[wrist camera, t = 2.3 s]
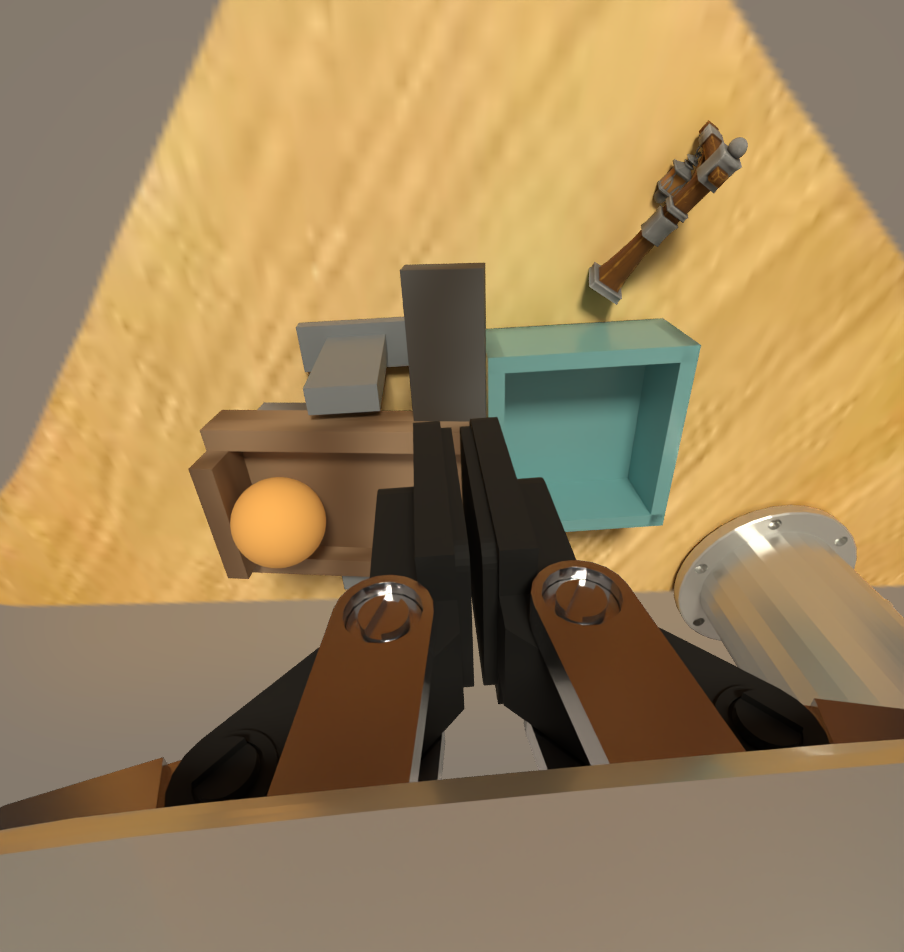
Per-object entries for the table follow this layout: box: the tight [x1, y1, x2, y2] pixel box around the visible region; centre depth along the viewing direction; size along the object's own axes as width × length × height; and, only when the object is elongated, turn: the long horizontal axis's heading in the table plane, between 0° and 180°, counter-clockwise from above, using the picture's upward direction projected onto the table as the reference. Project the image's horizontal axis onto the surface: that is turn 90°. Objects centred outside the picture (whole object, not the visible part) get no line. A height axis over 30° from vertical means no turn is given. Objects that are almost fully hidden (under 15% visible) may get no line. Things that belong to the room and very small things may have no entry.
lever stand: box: [296, 317, 409, 589], centre depth 28 cm, size 6×12×8 cm, turn 3°
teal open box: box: [486, 318, 701, 532], centre depth 29 cm, size 10×11×4 cm
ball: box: [230, 477, 326, 568], centre depth 23 cm, size 4×4×4 cm
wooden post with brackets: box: [589, 120, 748, 305], centre depth 24 cm, size 2×8×4 cm, turn 150°
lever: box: [189, 263, 487, 579], centre depth 24 cm, size 12×14×6 cm
